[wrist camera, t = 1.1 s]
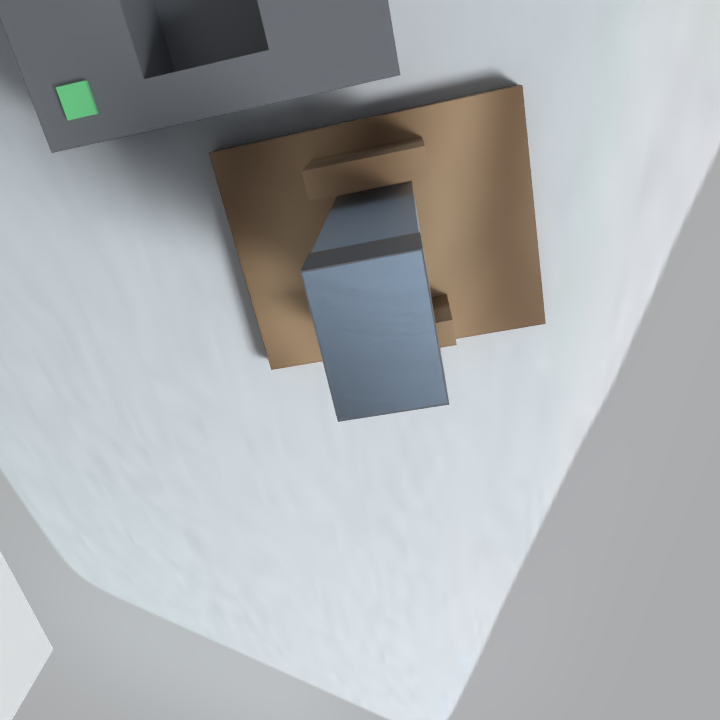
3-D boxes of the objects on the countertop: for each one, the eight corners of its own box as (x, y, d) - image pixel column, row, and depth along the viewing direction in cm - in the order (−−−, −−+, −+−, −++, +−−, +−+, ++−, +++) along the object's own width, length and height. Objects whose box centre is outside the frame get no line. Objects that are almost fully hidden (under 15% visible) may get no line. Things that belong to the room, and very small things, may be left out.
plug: (412, 179, 29) (422, 248, 18) (430, 286, 31) (449, 404, 20) (335, 195, 30) (300, 271, 19) (357, 298, 32) (337, 421, 21)
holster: (518, 84, 28) (538, 88, 24) (541, 316, 33) (561, 352, 29) (214, 150, 30) (186, 164, 26) (274, 361, 35) (258, 401, 31)
